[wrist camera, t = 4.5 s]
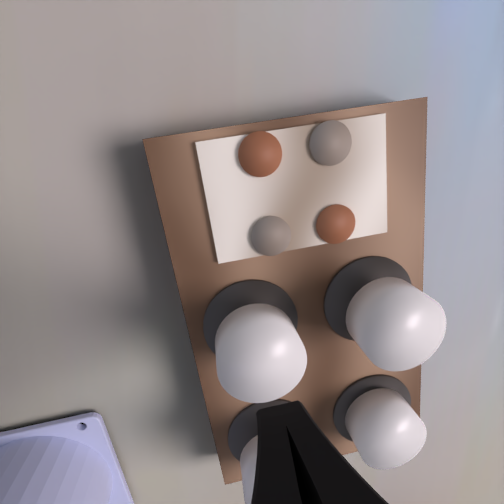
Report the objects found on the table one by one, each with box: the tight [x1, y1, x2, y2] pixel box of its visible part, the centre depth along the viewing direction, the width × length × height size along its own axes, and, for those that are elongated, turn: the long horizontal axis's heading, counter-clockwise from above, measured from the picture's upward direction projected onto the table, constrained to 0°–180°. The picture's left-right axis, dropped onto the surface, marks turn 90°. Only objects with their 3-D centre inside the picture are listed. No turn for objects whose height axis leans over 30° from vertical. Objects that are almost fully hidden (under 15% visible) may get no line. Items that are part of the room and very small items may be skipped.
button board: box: [143, 97, 427, 484], centre depth 17 cm, size 12×19×2 cm, turn 8°
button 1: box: [240, 435, 258, 504], centre depth 16 cm, size 4×4×2 cm
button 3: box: [346, 277, 446, 371], centre depth 14 cm, size 4×4×2 cm
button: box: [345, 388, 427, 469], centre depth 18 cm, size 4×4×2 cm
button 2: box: [215, 303, 307, 403], centre depth 14 cm, size 4×4×2 cm
